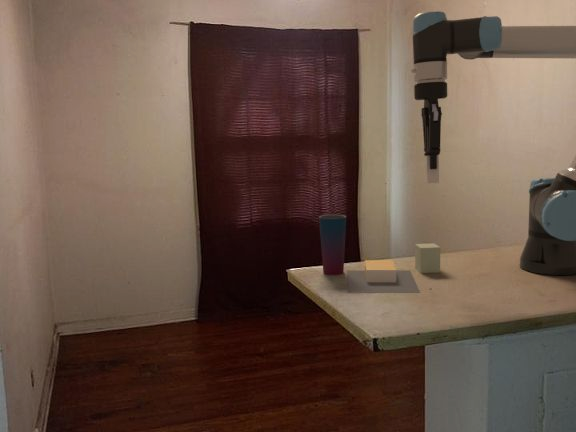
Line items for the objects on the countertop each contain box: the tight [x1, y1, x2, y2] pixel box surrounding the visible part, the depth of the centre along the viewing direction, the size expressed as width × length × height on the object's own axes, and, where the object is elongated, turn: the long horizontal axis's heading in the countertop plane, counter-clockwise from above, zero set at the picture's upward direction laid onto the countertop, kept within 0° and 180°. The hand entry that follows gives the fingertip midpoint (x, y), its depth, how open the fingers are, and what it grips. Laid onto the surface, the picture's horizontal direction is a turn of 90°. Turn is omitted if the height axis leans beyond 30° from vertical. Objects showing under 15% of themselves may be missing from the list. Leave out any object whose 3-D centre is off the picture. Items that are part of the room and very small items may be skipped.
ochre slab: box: [364, 259, 397, 282], centre depth 144 cm, size 7×3×10 cm
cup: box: [318, 214, 347, 276], centre depth 149 cm, size 7×7×15 cm
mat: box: [346, 269, 421, 294], centre depth 141 cm, size 16×20×1 cm
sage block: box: [414, 242, 441, 274], centre depth 149 cm, size 5×5×7 cm
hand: (432, 182), depth 141 cm, fingers closed
